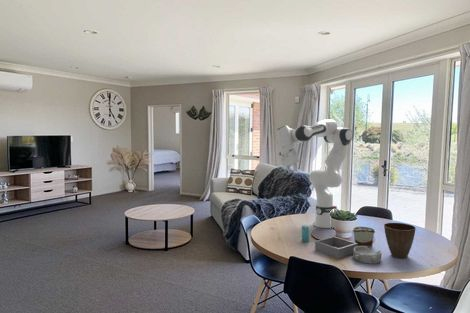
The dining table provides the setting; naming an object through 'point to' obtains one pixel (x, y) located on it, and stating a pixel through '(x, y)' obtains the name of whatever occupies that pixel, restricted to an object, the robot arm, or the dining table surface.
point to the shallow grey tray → (327, 247)
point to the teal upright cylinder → (305, 233)
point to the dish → (366, 255)
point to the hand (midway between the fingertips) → (292, 171)
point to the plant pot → (399, 238)
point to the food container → (363, 236)
